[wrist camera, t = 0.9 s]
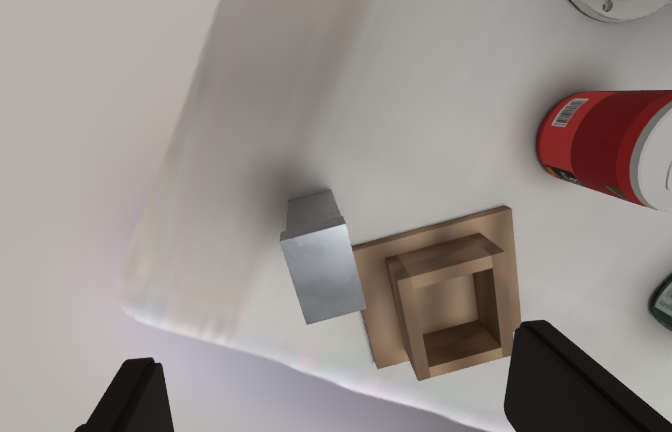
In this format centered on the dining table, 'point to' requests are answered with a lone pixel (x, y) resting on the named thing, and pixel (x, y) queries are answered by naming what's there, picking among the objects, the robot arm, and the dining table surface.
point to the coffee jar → (664, 305)
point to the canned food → (613, 144)
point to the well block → (442, 294)
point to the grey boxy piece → (321, 258)
